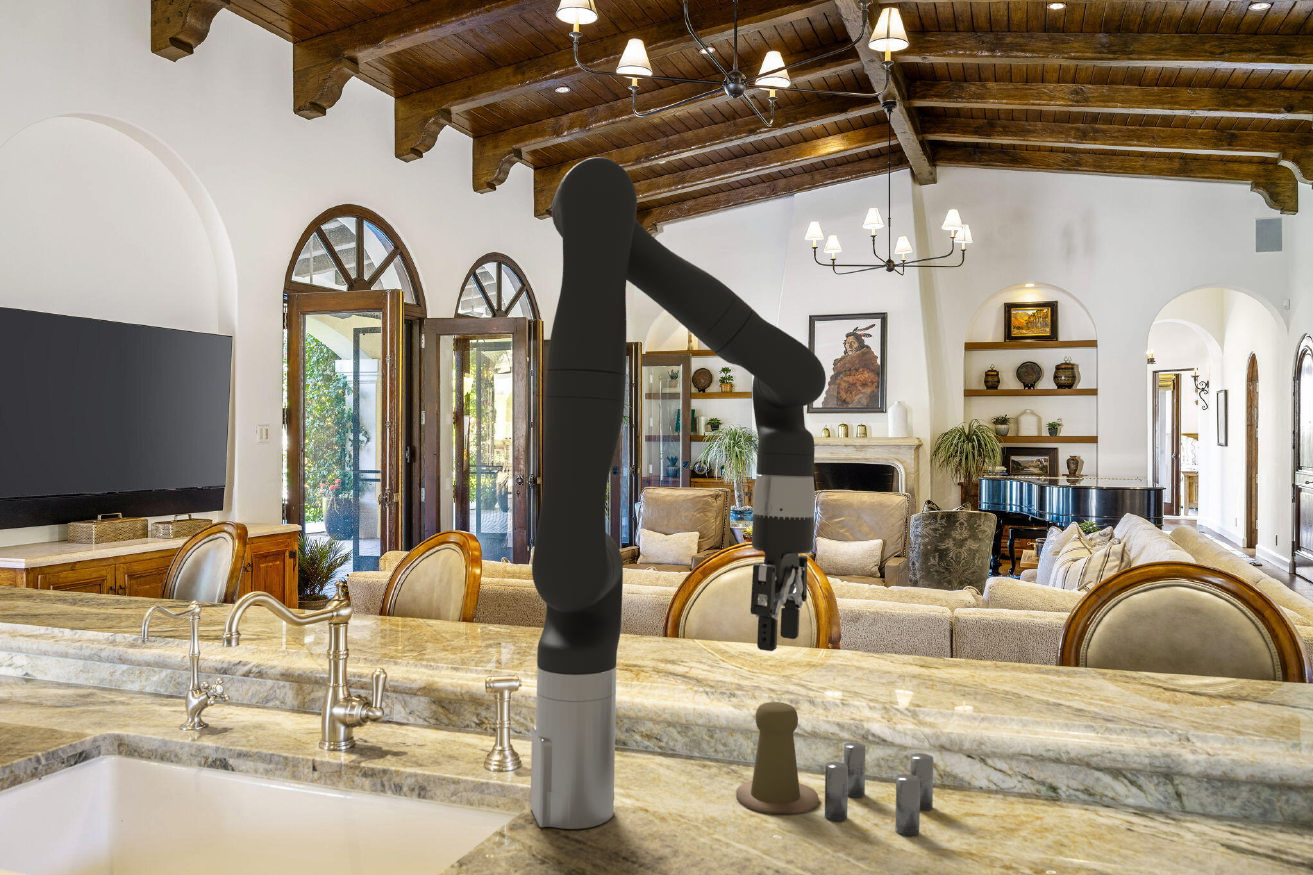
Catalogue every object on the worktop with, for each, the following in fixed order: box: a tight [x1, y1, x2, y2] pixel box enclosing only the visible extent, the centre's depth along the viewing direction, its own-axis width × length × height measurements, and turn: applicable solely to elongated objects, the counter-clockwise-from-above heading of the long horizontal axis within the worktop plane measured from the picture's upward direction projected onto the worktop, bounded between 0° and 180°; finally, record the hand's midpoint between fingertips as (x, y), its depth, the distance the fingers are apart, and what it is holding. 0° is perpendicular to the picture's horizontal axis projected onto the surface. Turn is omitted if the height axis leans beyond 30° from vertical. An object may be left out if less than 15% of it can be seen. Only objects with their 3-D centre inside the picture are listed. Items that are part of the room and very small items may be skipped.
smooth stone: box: [735, 780, 819, 816], centre depth 111 cm, size 10×10×1 cm
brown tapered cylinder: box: [751, 701, 800, 804], centre depth 111 cm, size 6×6×11 cm
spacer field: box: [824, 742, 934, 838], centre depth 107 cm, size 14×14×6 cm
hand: (778, 643), depth 111 cm, fingers open, 8 cm apart
